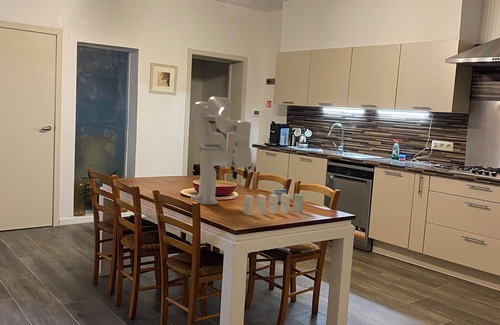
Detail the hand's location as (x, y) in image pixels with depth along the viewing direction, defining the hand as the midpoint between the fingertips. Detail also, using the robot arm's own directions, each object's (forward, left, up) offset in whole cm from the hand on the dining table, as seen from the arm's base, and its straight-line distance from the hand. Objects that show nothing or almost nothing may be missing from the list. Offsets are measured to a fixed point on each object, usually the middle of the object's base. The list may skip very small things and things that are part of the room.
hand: (239, 178), depth 258 cm
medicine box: (+44, +25, -20) cm, 54 cm away
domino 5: (+39, 0, -20) cm, 44 cm away
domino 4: (+31, 0, -20) cm, 36 cm away
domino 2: (+15, 0, -20) cm, 24 cm away
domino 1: (+7, 0, -20) cm, 21 cm away
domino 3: (+23, 0, -20) cm, 30 cm away
